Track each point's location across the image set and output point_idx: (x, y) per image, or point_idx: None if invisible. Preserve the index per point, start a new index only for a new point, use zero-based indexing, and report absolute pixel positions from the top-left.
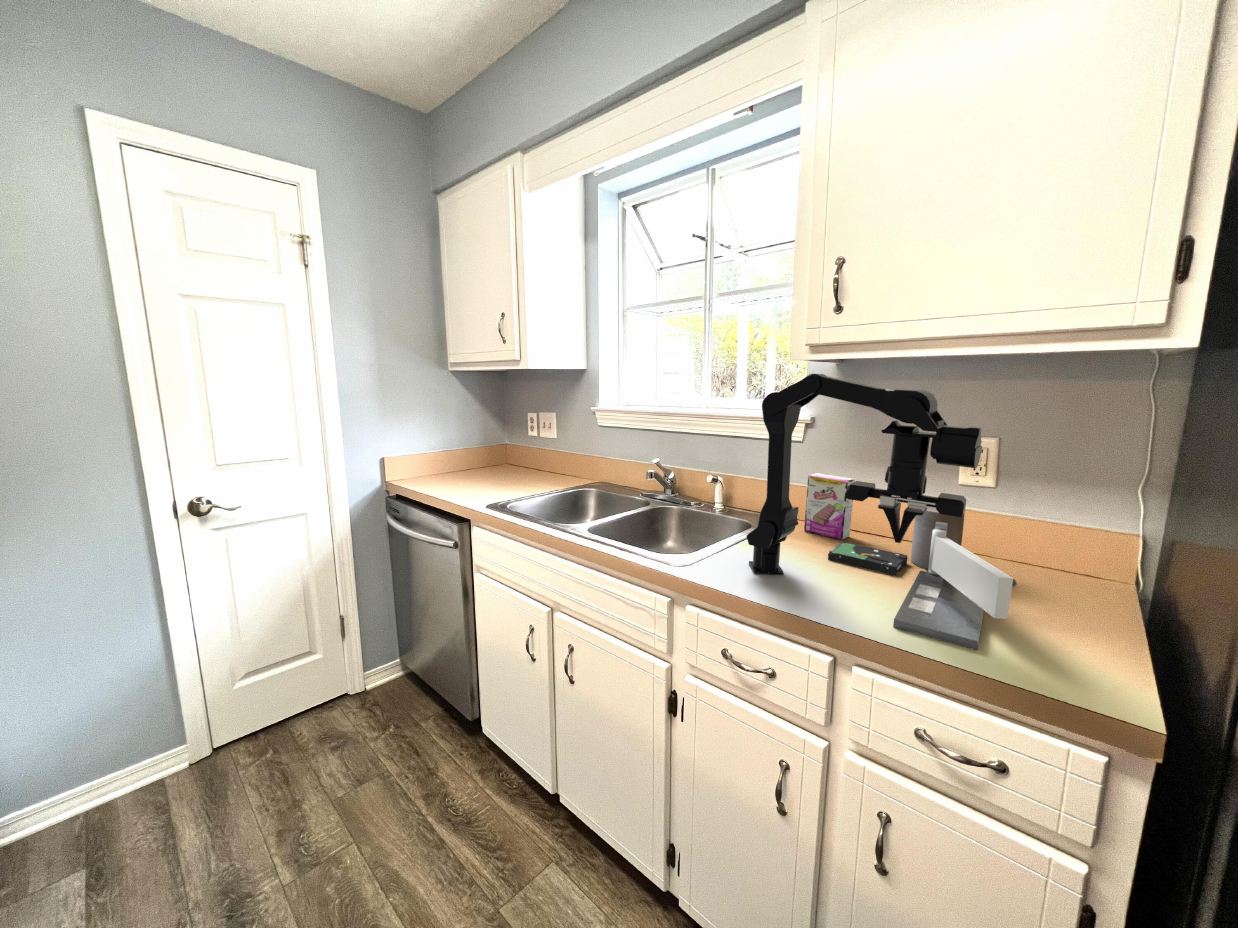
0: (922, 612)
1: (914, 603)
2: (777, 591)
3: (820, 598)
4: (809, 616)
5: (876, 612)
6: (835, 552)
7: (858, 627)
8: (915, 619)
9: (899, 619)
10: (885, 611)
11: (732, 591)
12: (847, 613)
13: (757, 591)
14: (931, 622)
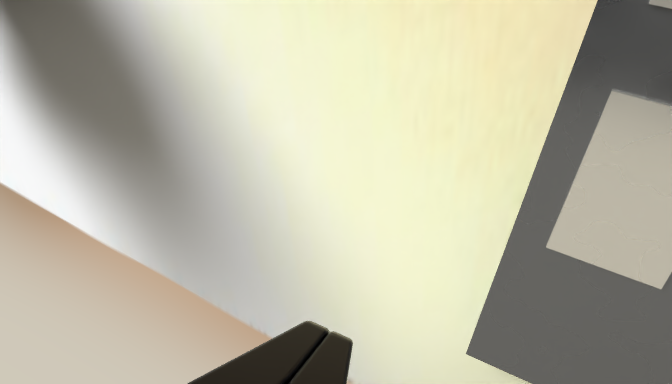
0: (614, 275)
1: (594, 186)
2: (98, 140)
3: (219, 150)
4: (228, 300)
5: (419, 218)
6: None
7: (362, 346)
8: (558, 347)
9: (487, 356)
10: (457, 198)
11: (24, 187)
12: (320, 255)
13: (62, 163)
14: (629, 367)
